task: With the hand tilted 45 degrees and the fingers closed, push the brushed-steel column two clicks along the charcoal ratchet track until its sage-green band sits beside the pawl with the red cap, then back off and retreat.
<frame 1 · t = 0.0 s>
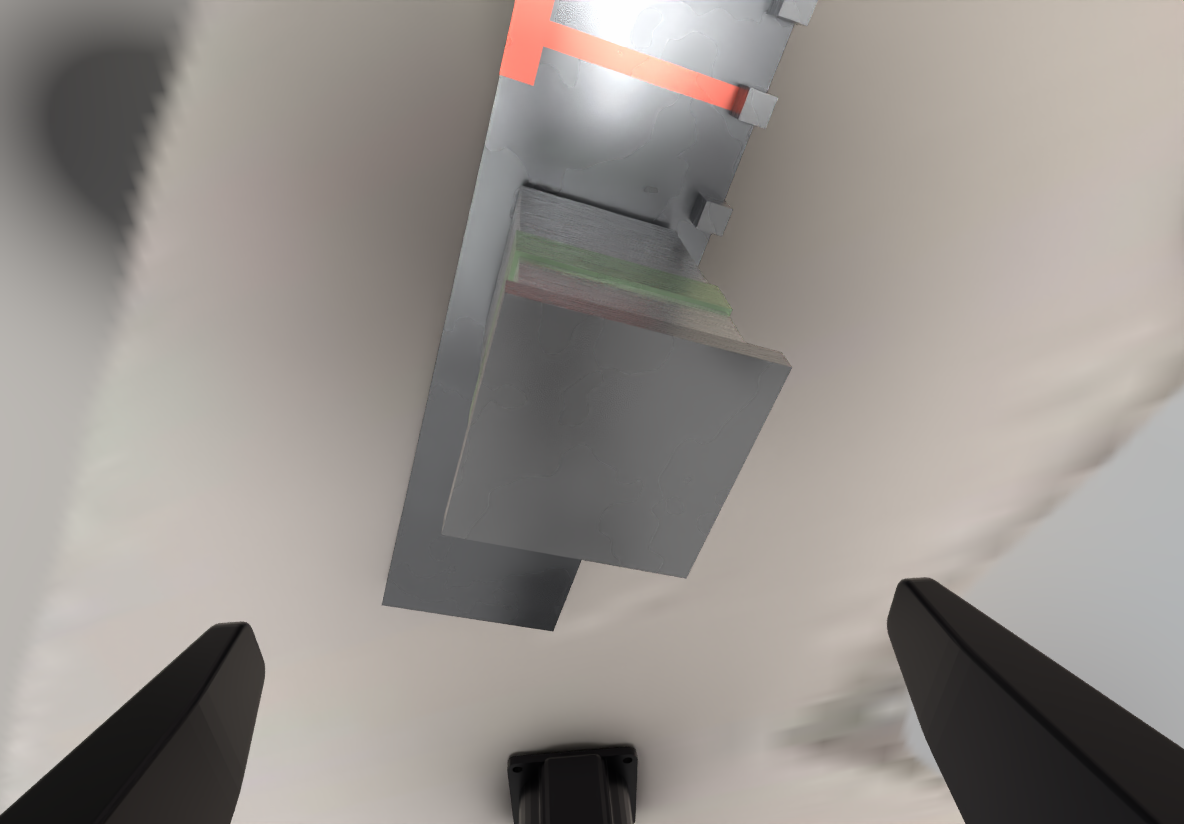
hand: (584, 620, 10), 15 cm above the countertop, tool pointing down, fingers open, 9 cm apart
track: (488, 543, 28), on the countertop
column: (589, 348, 17), point 6 cm above the countertop, slide at 0.0 cm
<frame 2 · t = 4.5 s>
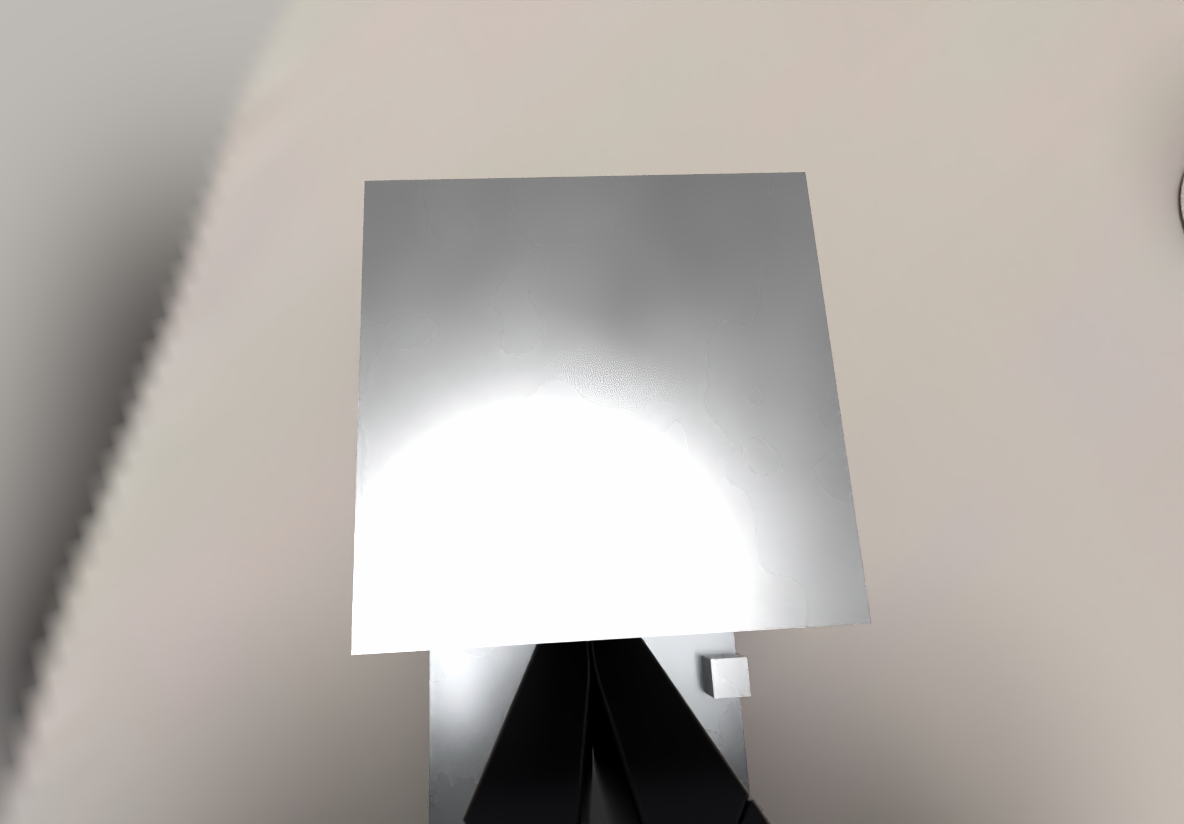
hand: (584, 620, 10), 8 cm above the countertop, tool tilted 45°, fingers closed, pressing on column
column: (585, 463, 12), point 6 cm above the countertop, slide at 1.1 cm, touching gripper
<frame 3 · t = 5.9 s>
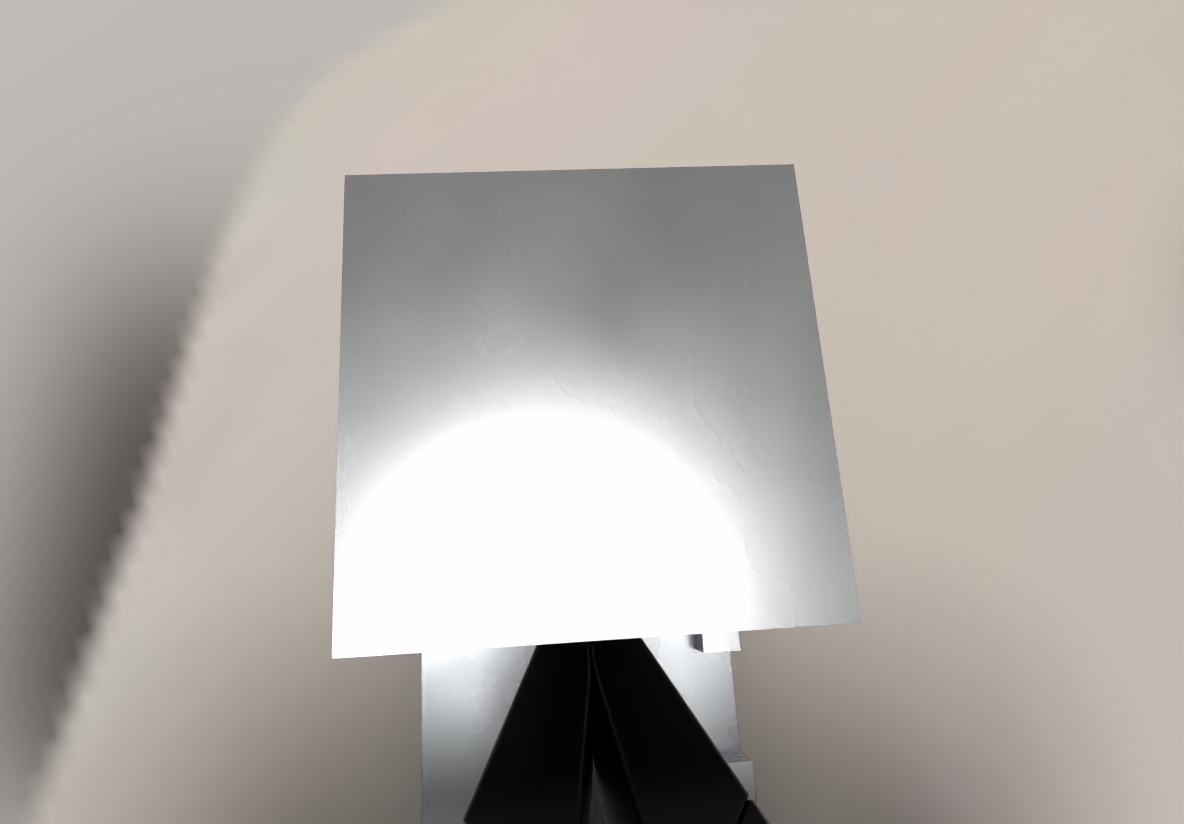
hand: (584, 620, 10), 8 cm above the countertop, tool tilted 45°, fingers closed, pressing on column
column: (575, 461, 12), point 6 cm above the countertop, slide at 6.2 cm, touching gripper
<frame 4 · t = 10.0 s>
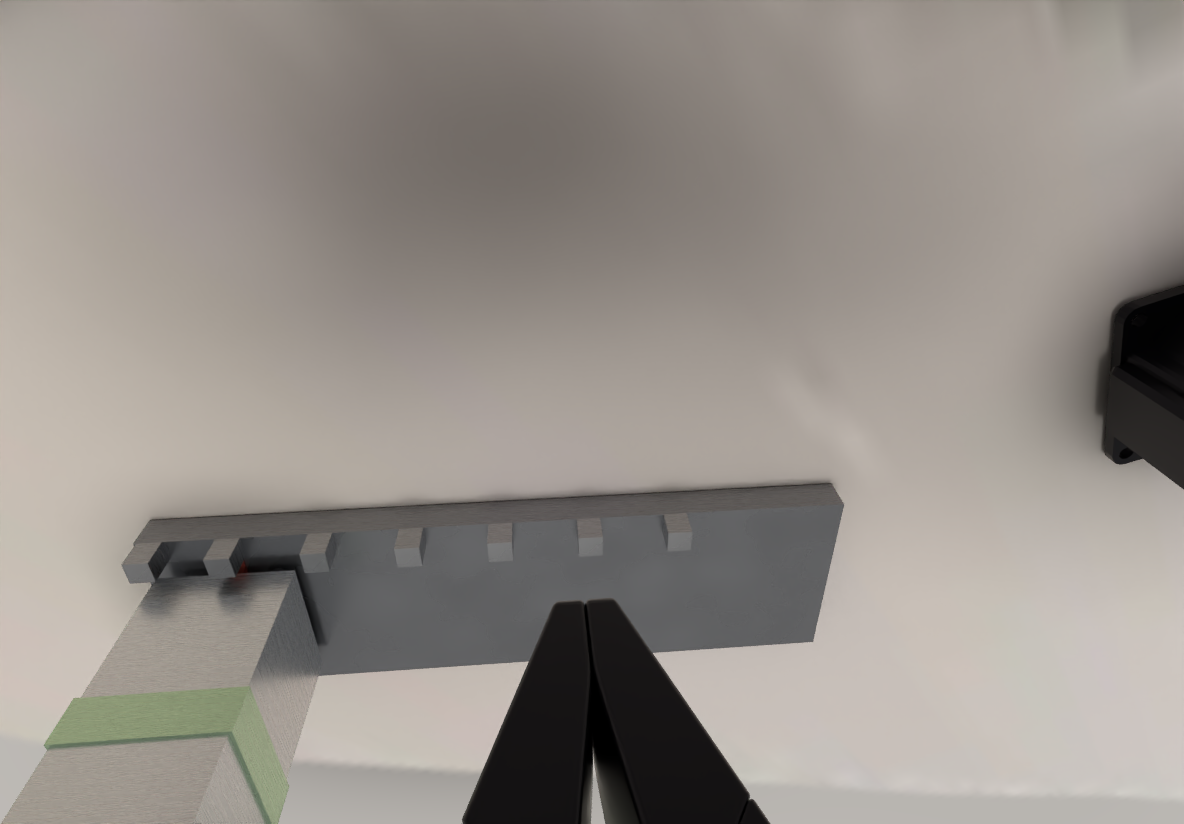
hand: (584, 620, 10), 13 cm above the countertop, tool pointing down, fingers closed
track: (740, 560, 27), on the countertop
column: (190, 742, 21), point 6 cm above the countertop, slide at 6.2 cm
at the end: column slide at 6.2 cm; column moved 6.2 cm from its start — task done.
